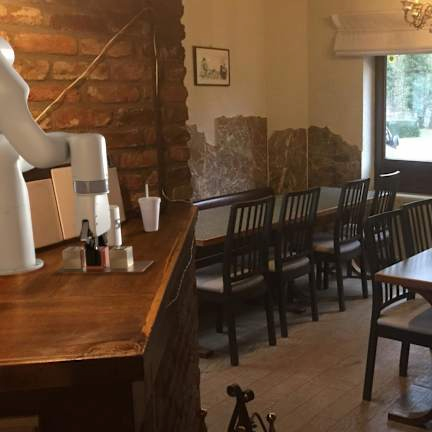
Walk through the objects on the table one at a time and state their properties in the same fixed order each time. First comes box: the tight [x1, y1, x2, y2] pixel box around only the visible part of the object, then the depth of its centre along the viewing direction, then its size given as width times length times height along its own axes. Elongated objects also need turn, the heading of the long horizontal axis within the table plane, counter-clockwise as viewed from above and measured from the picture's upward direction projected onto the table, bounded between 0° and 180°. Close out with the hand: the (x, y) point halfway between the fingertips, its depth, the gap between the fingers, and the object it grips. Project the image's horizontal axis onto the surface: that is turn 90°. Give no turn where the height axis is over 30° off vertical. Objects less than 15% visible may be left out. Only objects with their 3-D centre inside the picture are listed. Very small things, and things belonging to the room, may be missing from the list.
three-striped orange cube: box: [85, 246, 110, 269], centre depth 149 cm, size 4×4×4 cm
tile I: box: [61, 246, 86, 269], centre depth 149 cm, size 4×4×4 cm
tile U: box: [109, 245, 134, 269], centre depth 149 cm, size 4×4×4 cm
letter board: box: [56, 260, 154, 273], centre depth 150 cm, size 20×9×1 cm, turn 94°
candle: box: [107, 204, 122, 247], centre depth 170 cm, size 6×6×15 cm
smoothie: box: [137, 183, 162, 232], centre depth 188 cm, size 6×6×14 cm
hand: (97, 262), depth 149 cm, fingers closed on three-striped orange cube, 4 cm apart
